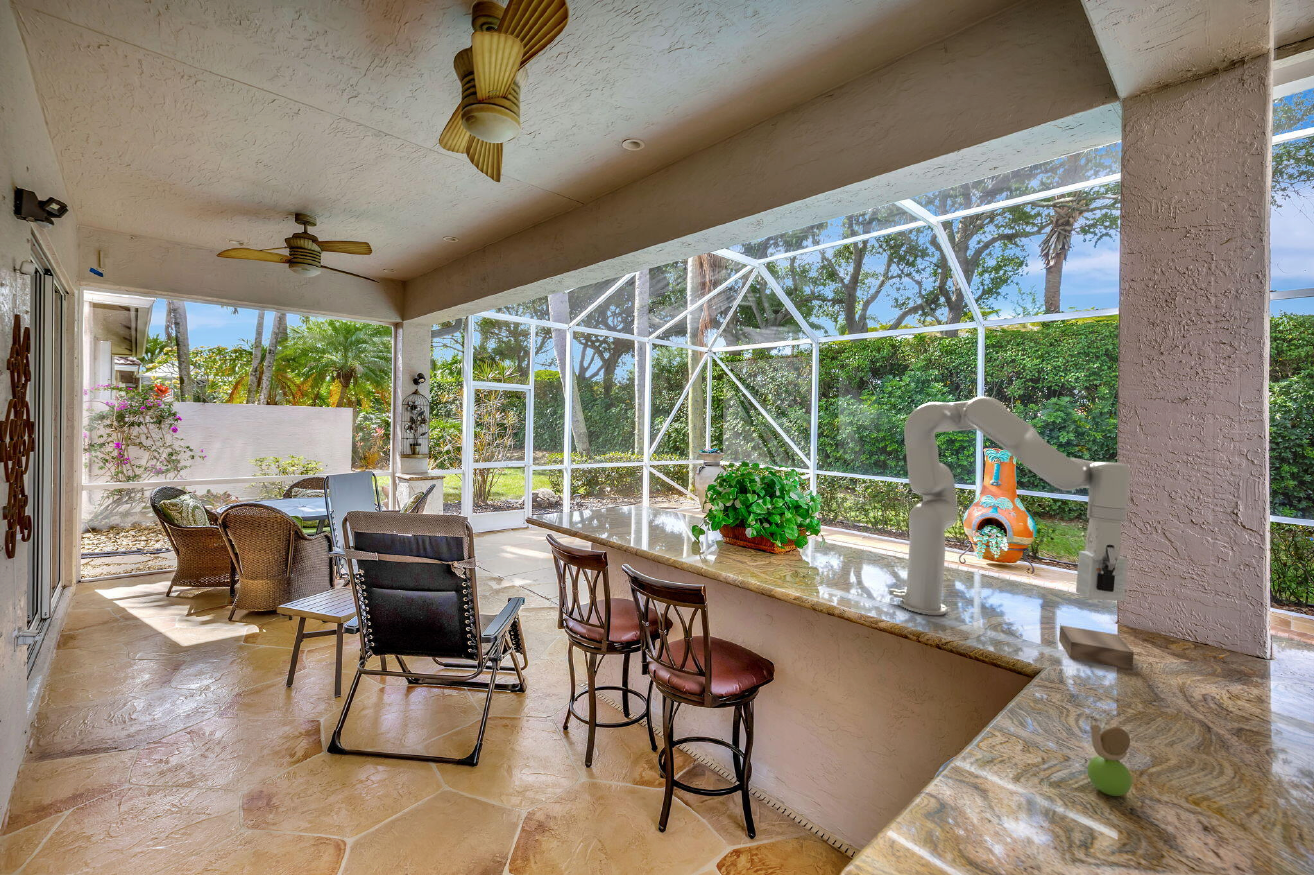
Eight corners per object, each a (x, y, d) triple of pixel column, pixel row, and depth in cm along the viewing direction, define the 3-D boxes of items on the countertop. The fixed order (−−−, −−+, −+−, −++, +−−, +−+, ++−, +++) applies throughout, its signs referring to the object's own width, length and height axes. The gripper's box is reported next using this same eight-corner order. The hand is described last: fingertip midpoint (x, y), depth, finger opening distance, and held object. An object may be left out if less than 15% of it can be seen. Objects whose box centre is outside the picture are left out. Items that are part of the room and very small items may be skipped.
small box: (1109, 594, 145) (1113, 552, 144) (1124, 602, 139) (1128, 558, 139) (1074, 592, 146) (1078, 550, 145) (1088, 599, 140) (1092, 556, 140)
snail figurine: (1071, 781, 93) (1078, 707, 92) (1109, 780, 93) (1116, 707, 93) (1099, 804, 87) (1107, 726, 87) (1139, 804, 88) (1147, 726, 87)
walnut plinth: (1070, 658, 141) (1071, 641, 140) (1058, 640, 152) (1060, 625, 151) (1132, 669, 136) (1133, 652, 136) (1116, 650, 147) (1117, 634, 146)
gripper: (1078, 506, 151) (1073, 575, 152) (1097, 517, 135) (1091, 593, 136) (1114, 509, 148) (1108, 579, 149) (1138, 521, 132) (1131, 599, 133)
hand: (1100, 585), depth 143 cm, fingers closed on small box, 6 cm apart
